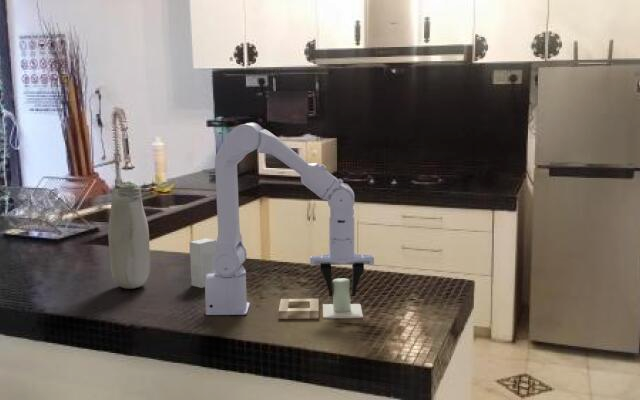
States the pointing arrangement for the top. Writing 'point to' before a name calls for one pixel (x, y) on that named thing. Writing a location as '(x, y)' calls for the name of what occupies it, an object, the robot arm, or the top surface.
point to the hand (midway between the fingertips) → (342, 295)
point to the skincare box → (201, 260)
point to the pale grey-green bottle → (128, 237)
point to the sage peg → (341, 295)
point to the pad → (353, 313)
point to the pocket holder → (299, 308)
